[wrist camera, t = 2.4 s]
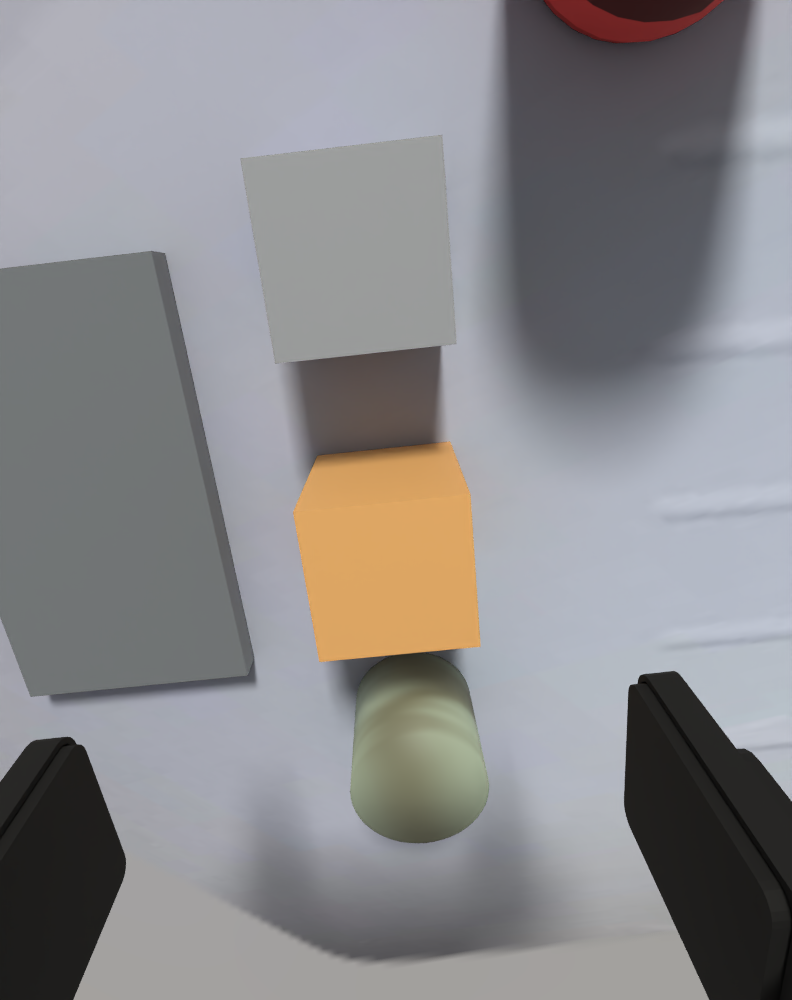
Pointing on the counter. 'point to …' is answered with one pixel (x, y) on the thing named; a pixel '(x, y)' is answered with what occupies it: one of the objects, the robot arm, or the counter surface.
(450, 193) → the counter surface
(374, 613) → the orange block
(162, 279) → the slate board
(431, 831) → the sage cylinder
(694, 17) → the canned food
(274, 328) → the grey block
